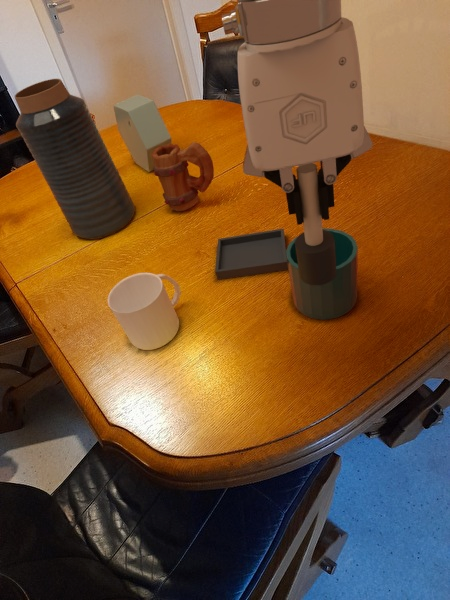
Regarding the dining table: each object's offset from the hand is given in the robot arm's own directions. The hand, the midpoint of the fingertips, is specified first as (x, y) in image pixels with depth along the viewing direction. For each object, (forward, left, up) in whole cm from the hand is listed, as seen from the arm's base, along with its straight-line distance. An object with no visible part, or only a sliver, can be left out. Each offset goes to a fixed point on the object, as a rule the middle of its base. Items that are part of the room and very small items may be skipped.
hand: (311, 214), depth 43 cm
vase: (+47, -47, -24) cm, 71 cm away
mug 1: (+26, -9, -24) cm, 36 cm away
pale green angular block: (+39, -75, -24) cm, 88 cm away
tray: (+10, -24, -23) cm, 35 cm away
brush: (0, 0, -9) cm, 9 cm away
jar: (-2, -11, -23) cm, 26 cm away
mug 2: (+24, -47, -24) cm, 58 cm away
